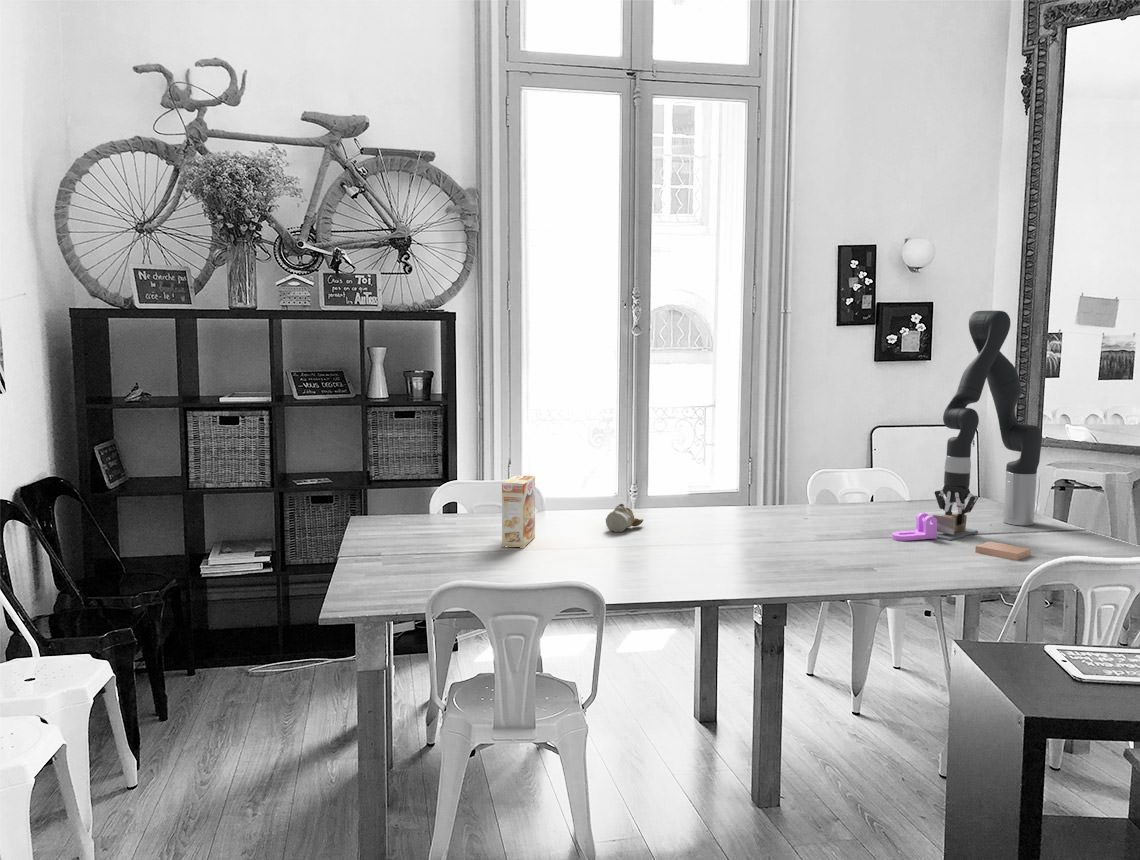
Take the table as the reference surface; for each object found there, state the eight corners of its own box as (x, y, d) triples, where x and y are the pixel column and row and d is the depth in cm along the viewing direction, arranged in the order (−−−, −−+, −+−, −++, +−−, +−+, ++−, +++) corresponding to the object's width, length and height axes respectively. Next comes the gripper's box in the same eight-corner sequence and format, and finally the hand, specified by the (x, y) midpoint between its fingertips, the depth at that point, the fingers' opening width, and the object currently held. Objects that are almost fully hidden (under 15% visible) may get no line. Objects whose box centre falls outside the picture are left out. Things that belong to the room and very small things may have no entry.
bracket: (927, 533, 295) (927, 512, 294) (936, 538, 290) (937, 516, 289) (888, 536, 293) (888, 515, 292) (897, 541, 288) (897, 519, 287)
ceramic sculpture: (598, 504, 299) (615, 499, 312) (597, 531, 299) (614, 525, 313) (629, 508, 294) (645, 502, 308) (628, 535, 295) (644, 528, 308)
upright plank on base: (950, 528, 303) (951, 512, 303) (971, 531, 298) (972, 516, 298) (931, 530, 296) (932, 514, 295) (952, 534, 290) (954, 518, 290)
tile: (989, 541, 280) (975, 546, 274) (1031, 548, 271) (1017, 553, 265) (989, 548, 280) (975, 553, 274) (1030, 556, 271) (1016, 561, 265)
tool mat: (953, 528, 306) (954, 526, 306) (977, 532, 300) (978, 530, 300) (925, 536, 294) (925, 534, 294) (949, 540, 288) (949, 538, 288)
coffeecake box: (524, 548, 277) (524, 483, 275) (500, 547, 278) (500, 482, 276) (536, 537, 292) (536, 475, 289) (514, 536, 293) (513, 474, 291)
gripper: (985, 472, 293) (981, 526, 295) (942, 466, 304) (939, 519, 305) (973, 474, 288) (969, 529, 290) (930, 468, 299) (927, 522, 301)
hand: (954, 524), depth 298 cm, fingers closed on upright plank on base, 3 cm apart
